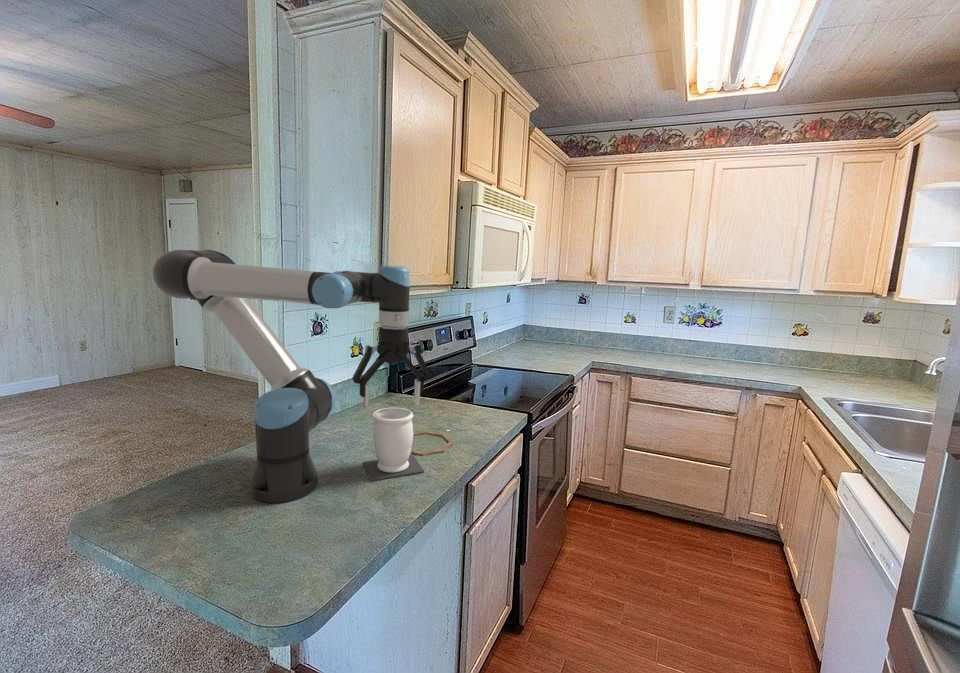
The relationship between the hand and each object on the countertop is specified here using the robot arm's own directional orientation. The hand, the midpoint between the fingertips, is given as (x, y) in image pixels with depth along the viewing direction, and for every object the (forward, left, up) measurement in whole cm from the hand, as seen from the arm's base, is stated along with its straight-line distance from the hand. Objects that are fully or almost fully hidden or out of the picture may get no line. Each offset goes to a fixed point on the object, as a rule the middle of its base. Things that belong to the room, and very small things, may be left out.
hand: (391, 406), depth 120 cm
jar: (0, 0, -17) cm, 17 cm away
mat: (0, 0, -18) cm, 18 cm away
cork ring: (+13, +13, -18) cm, 25 cm away
